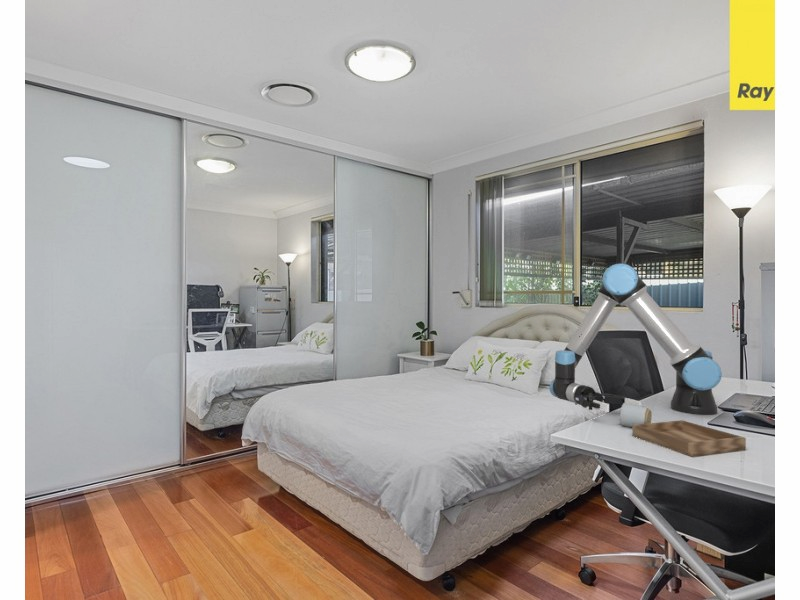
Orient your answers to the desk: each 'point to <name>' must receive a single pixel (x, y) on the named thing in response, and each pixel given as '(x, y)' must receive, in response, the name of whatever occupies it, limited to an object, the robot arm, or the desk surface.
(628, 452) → the desk surface
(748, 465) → the desk surface
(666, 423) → the walnut tray
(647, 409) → the ceramic mug
